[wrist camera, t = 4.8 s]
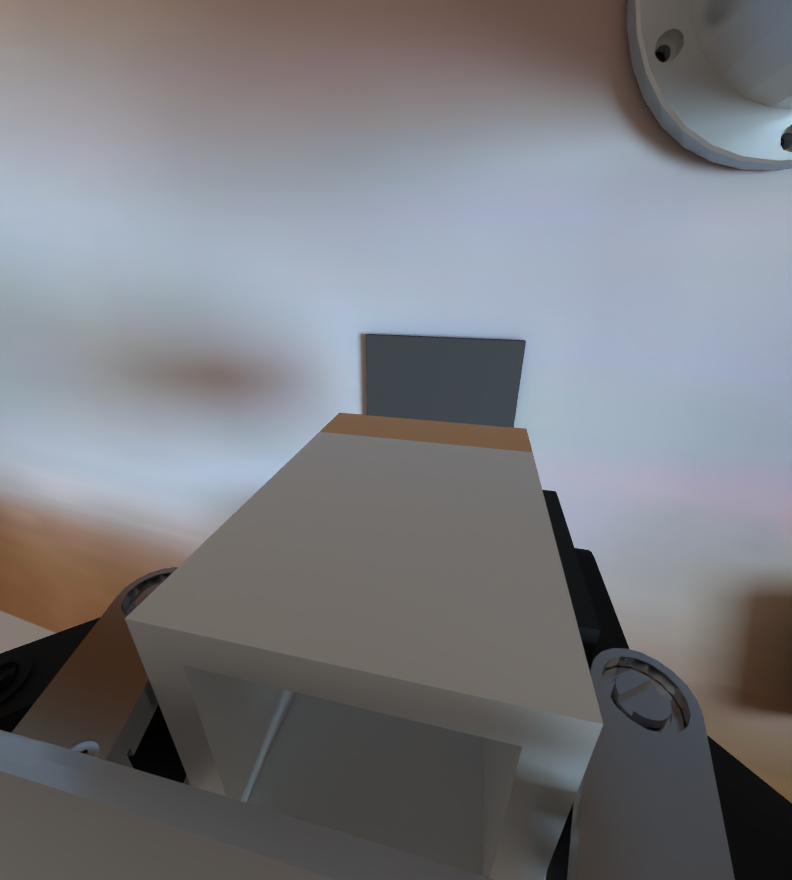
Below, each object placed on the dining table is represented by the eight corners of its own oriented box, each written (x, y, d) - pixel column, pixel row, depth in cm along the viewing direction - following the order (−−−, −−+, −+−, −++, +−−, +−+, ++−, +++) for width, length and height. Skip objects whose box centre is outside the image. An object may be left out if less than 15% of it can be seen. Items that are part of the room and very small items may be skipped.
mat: (368, 334, 20) (366, 335, 20) (524, 340, 19) (525, 341, 18) (369, 468, 23) (368, 471, 23) (504, 482, 22) (504, 486, 21)
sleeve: (339, 412, 10) (125, 618, 4) (525, 428, 10) (603, 723, 3) (347, 553, 13) (209, 834, 6) (501, 578, 12) (520, 936, 5)
